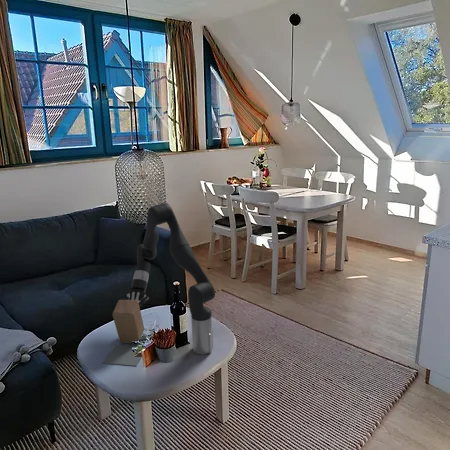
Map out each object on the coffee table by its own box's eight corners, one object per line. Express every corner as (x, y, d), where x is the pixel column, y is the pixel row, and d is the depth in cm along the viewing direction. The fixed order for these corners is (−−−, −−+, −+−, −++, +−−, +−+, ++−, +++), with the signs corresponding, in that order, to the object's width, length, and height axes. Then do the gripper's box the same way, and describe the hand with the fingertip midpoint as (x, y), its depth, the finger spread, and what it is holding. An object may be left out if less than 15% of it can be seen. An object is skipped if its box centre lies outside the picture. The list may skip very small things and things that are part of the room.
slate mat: (147, 348, 188) (147, 347, 188) (136, 366, 175) (136, 365, 175) (115, 345, 191) (115, 344, 190) (102, 363, 177) (102, 362, 177)
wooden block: (145, 328, 199) (138, 299, 188) (139, 344, 191) (132, 315, 180) (125, 327, 200) (118, 298, 189) (119, 343, 192) (111, 314, 181)
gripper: (125, 277, 201) (117, 311, 193) (150, 279, 199) (143, 313, 191) (130, 282, 207) (122, 315, 199) (154, 284, 205) (147, 317, 197)
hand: (132, 314), depth 195 cm, fingers closed
